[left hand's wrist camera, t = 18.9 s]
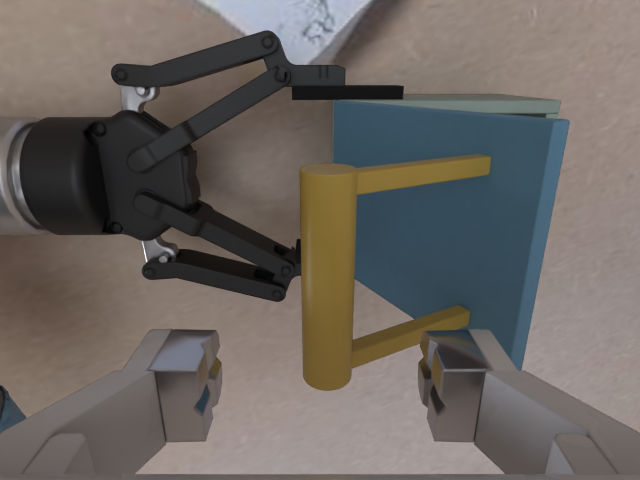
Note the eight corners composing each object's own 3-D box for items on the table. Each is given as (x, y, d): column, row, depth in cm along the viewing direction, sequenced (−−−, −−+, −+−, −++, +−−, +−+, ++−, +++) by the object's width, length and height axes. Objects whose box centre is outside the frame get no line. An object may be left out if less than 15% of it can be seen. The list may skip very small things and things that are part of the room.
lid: (571, 119, 14) (352, 136, 10) (520, 376, 17) (343, 462, 13) (345, 100, 24) (197, 105, 21) (342, 261, 28) (215, 290, 24)
